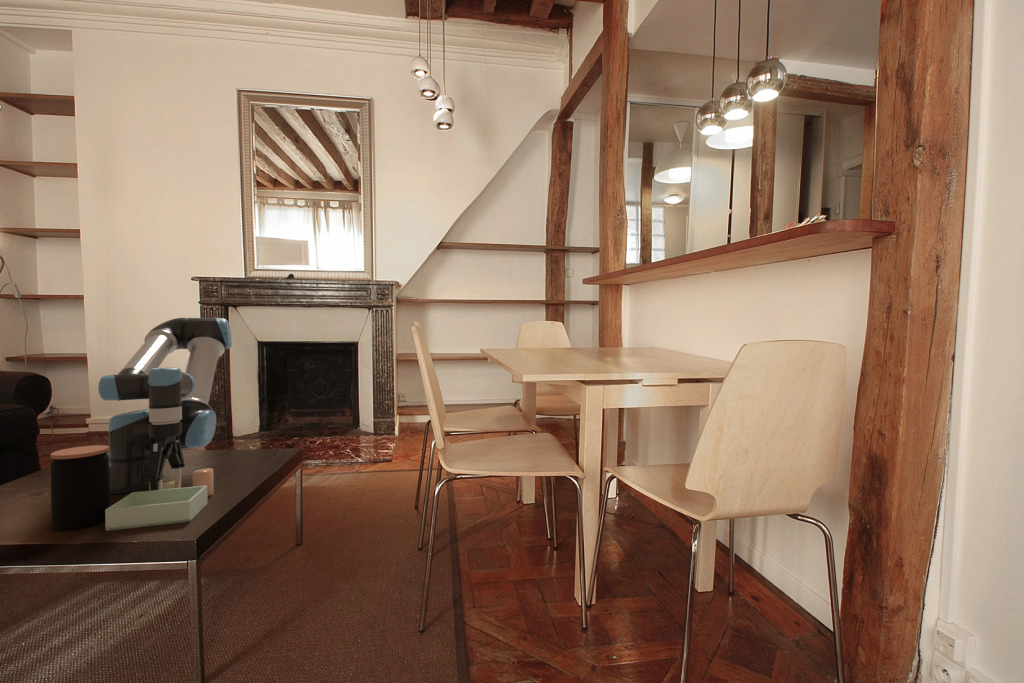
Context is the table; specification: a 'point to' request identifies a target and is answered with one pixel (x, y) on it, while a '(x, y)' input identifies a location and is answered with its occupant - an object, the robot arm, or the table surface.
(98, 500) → the coffee jar
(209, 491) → the peach block
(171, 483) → the beech cube
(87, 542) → the table surface
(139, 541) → the table surface
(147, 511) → the tray
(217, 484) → the table surface
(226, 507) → the table surface
